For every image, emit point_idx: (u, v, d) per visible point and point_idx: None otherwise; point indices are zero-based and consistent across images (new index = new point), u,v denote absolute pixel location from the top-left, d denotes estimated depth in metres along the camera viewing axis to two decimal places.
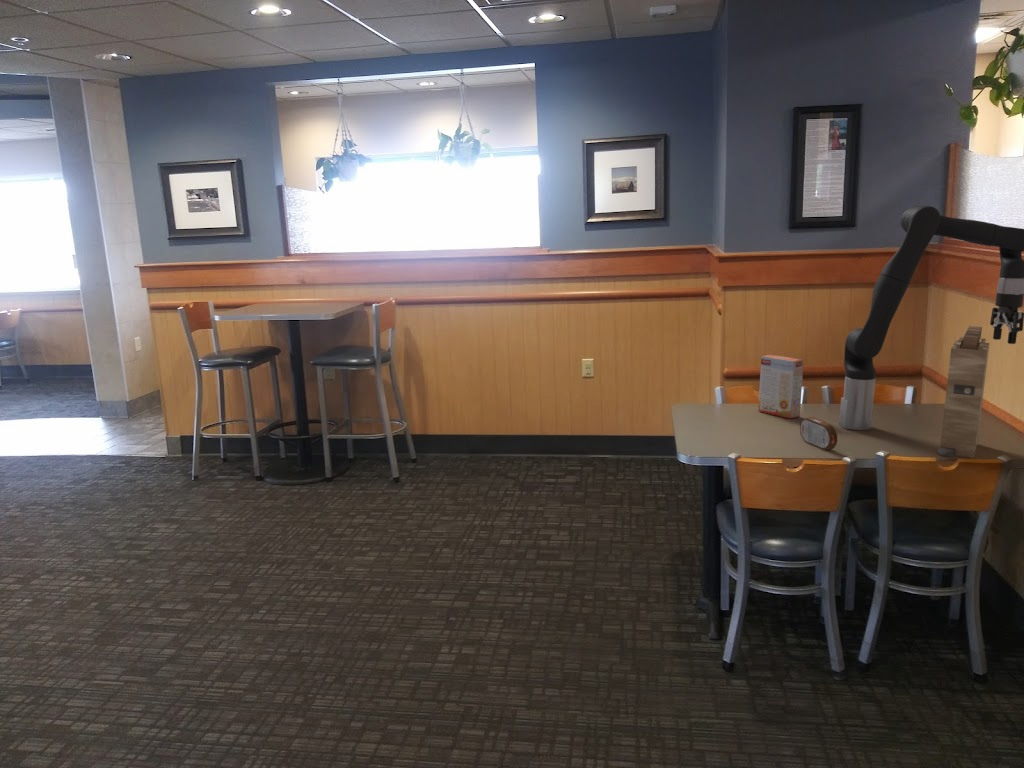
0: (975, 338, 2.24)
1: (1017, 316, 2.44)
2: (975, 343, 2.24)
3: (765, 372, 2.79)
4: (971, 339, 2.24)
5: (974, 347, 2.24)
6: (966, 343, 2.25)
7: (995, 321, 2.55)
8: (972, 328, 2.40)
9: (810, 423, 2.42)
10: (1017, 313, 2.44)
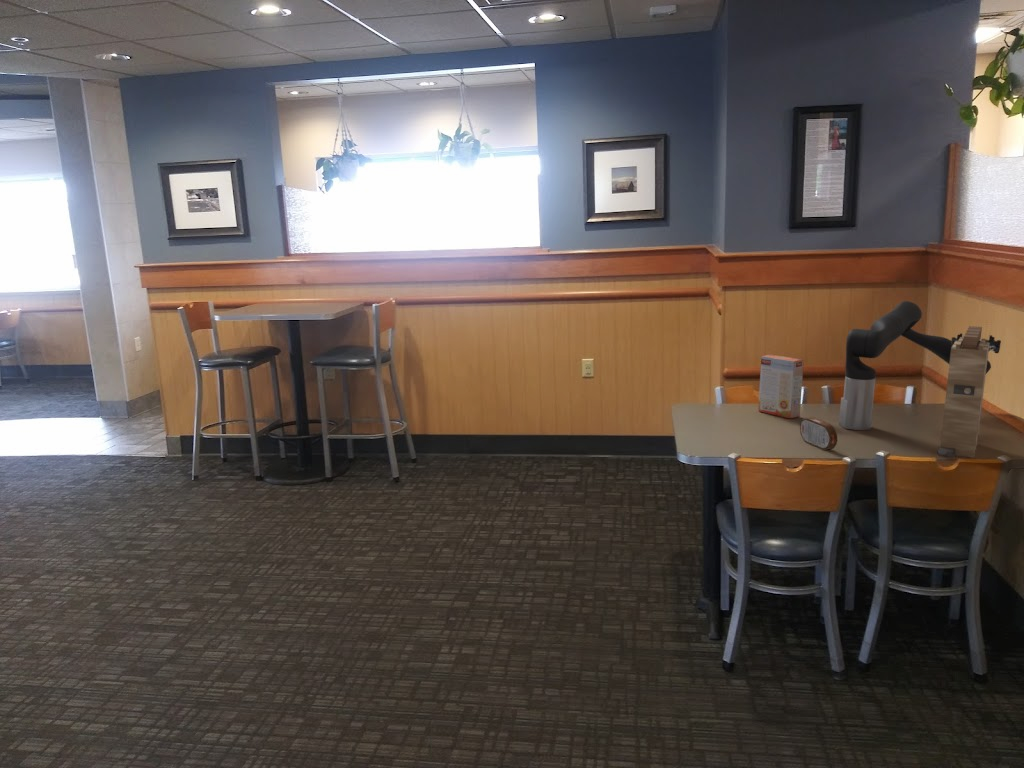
0: (975, 338, 2.24)
1: None
2: (975, 343, 2.24)
3: (765, 372, 2.79)
4: (971, 339, 2.24)
5: (974, 347, 2.24)
6: (966, 343, 2.25)
7: None
8: (972, 328, 2.40)
9: (810, 423, 2.42)
10: None
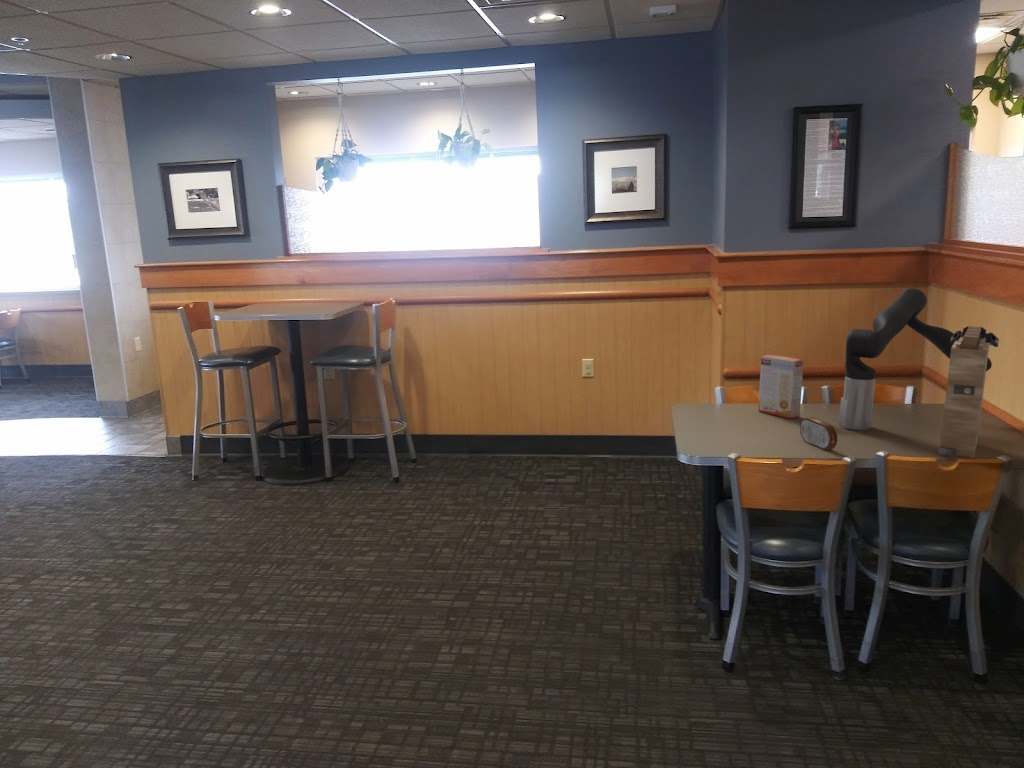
0: (975, 338, 2.24)
1: (997, 339, 2.43)
2: (975, 343, 2.24)
3: (765, 372, 2.79)
4: (971, 339, 2.24)
5: (974, 347, 2.24)
6: (966, 343, 2.25)
7: None
8: (972, 328, 2.40)
9: (810, 423, 2.42)
10: (998, 340, 2.44)
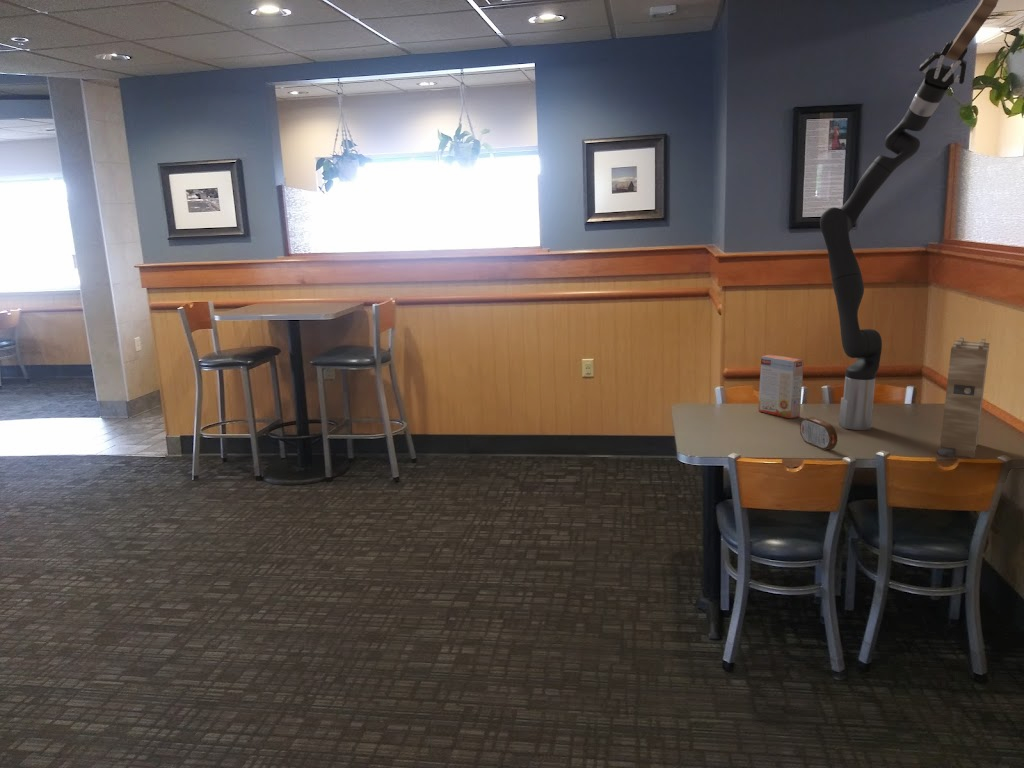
0: None
1: None
2: (996, 0, 2.06)
3: (765, 372, 2.79)
4: None
5: (994, 4, 2.06)
6: None
7: None
8: None
9: (810, 423, 2.42)
10: None
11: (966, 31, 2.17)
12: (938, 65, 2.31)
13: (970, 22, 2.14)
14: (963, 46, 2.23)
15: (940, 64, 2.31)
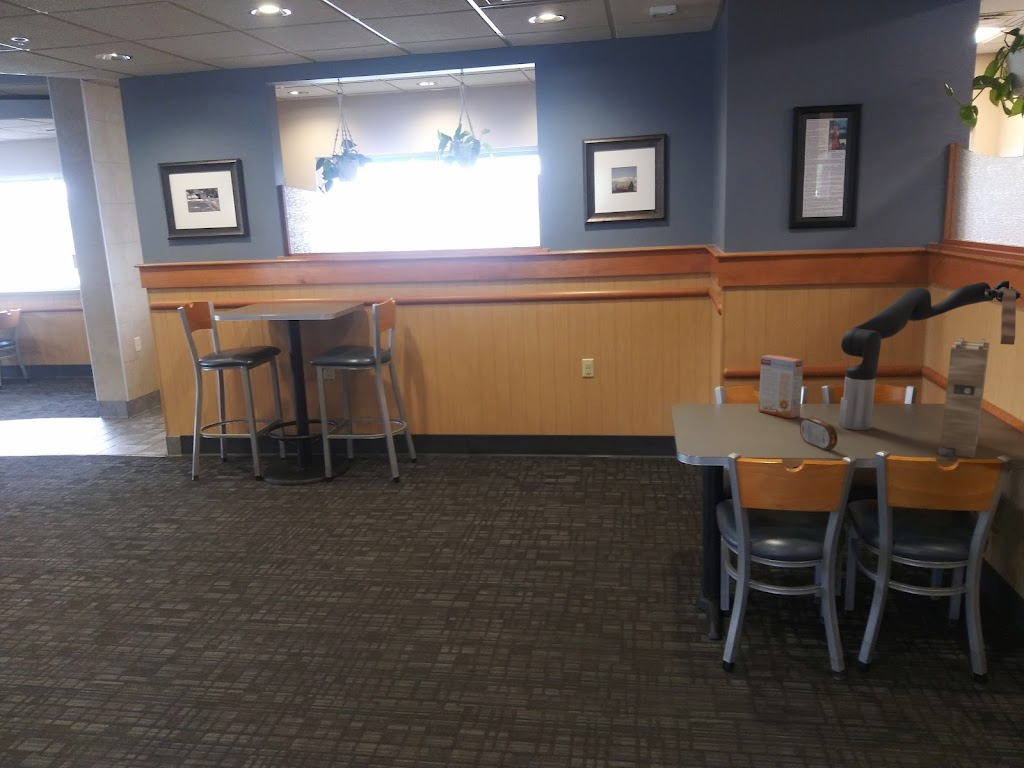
0: (1013, 336, 2.37)
1: None
2: (1013, 340, 2.38)
3: (765, 372, 2.79)
4: (1009, 337, 2.37)
5: (1012, 343, 2.38)
6: (1004, 340, 2.39)
7: (1002, 288, 2.56)
8: (1007, 298, 2.49)
9: (810, 423, 2.42)
10: None
11: None
12: None
13: None
14: None
15: None
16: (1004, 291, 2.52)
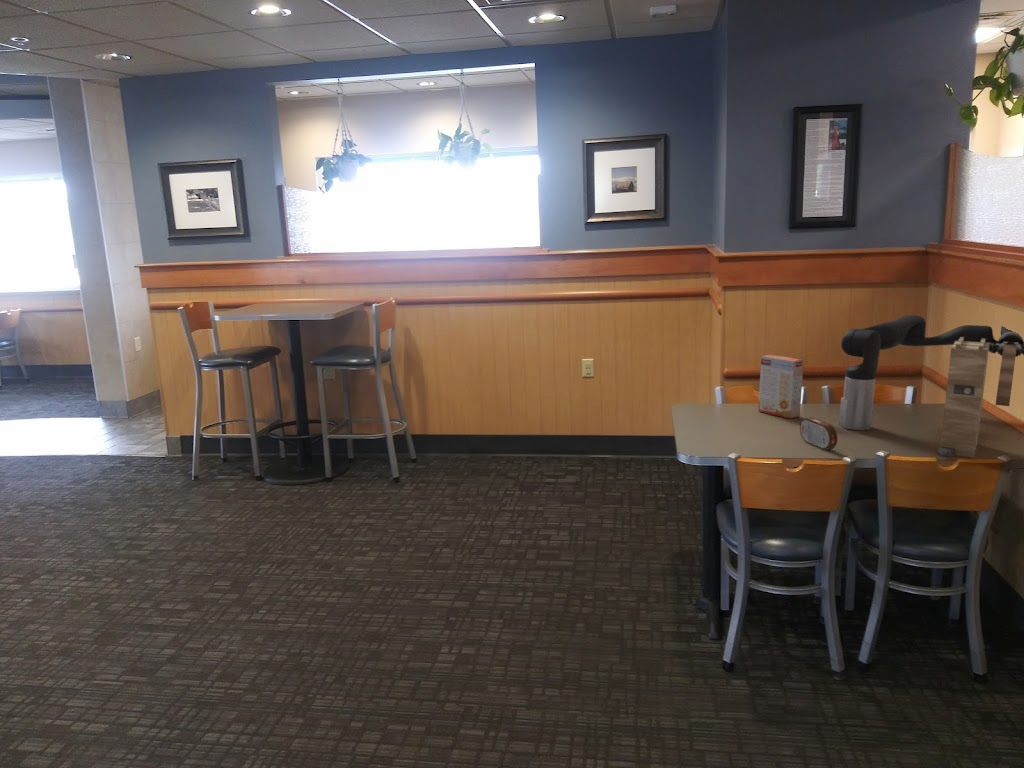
0: (1008, 398, 2.30)
1: None
2: (1008, 402, 2.31)
3: (765, 372, 2.79)
4: (1004, 399, 2.31)
5: (1007, 404, 2.31)
6: (999, 401, 2.32)
7: (1003, 343, 2.48)
8: (1006, 355, 2.41)
9: (810, 423, 2.42)
10: None
11: None
12: None
13: None
14: None
15: None
16: (1004, 347, 2.44)
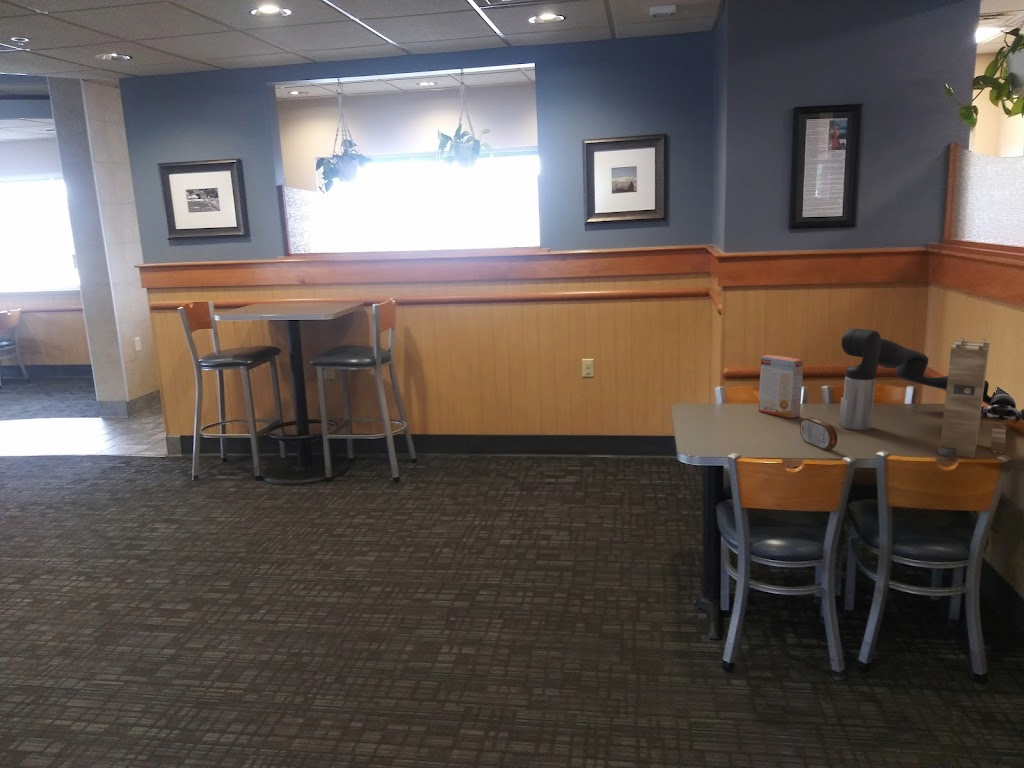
0: (1003, 444, 2.32)
1: None
2: (1003, 448, 2.32)
3: (765, 372, 2.79)
4: (999, 444, 2.32)
5: (1002, 452, 2.32)
6: (994, 448, 2.33)
7: (990, 406, 2.54)
8: (996, 427, 2.48)
9: (810, 423, 2.42)
10: None
11: None
12: None
13: None
14: None
15: (989, 416, 2.55)
16: (994, 424, 2.51)
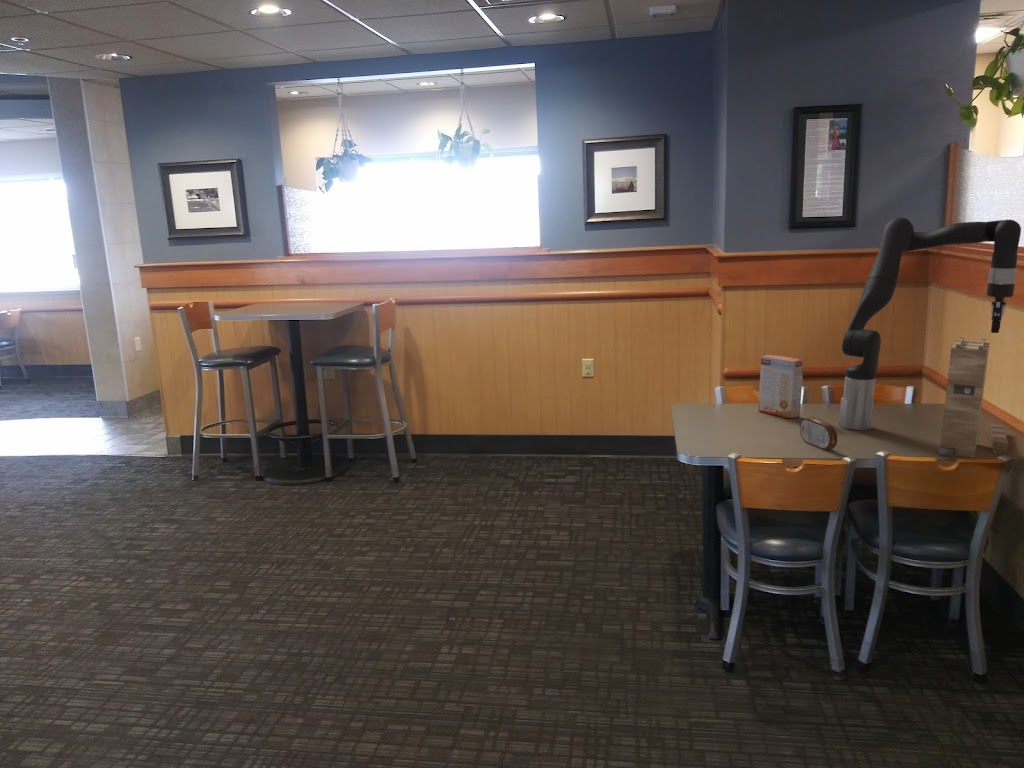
0: (1005, 444, 2.31)
1: (995, 305, 2.49)
2: (1005, 449, 2.32)
3: (765, 372, 2.79)
4: (1002, 445, 2.32)
5: (1004, 452, 2.32)
6: (997, 449, 2.33)
7: None
8: (995, 427, 2.48)
9: (810, 423, 2.42)
10: (995, 302, 2.49)
11: None
12: None
13: None
14: None
15: None
16: (992, 424, 2.52)
